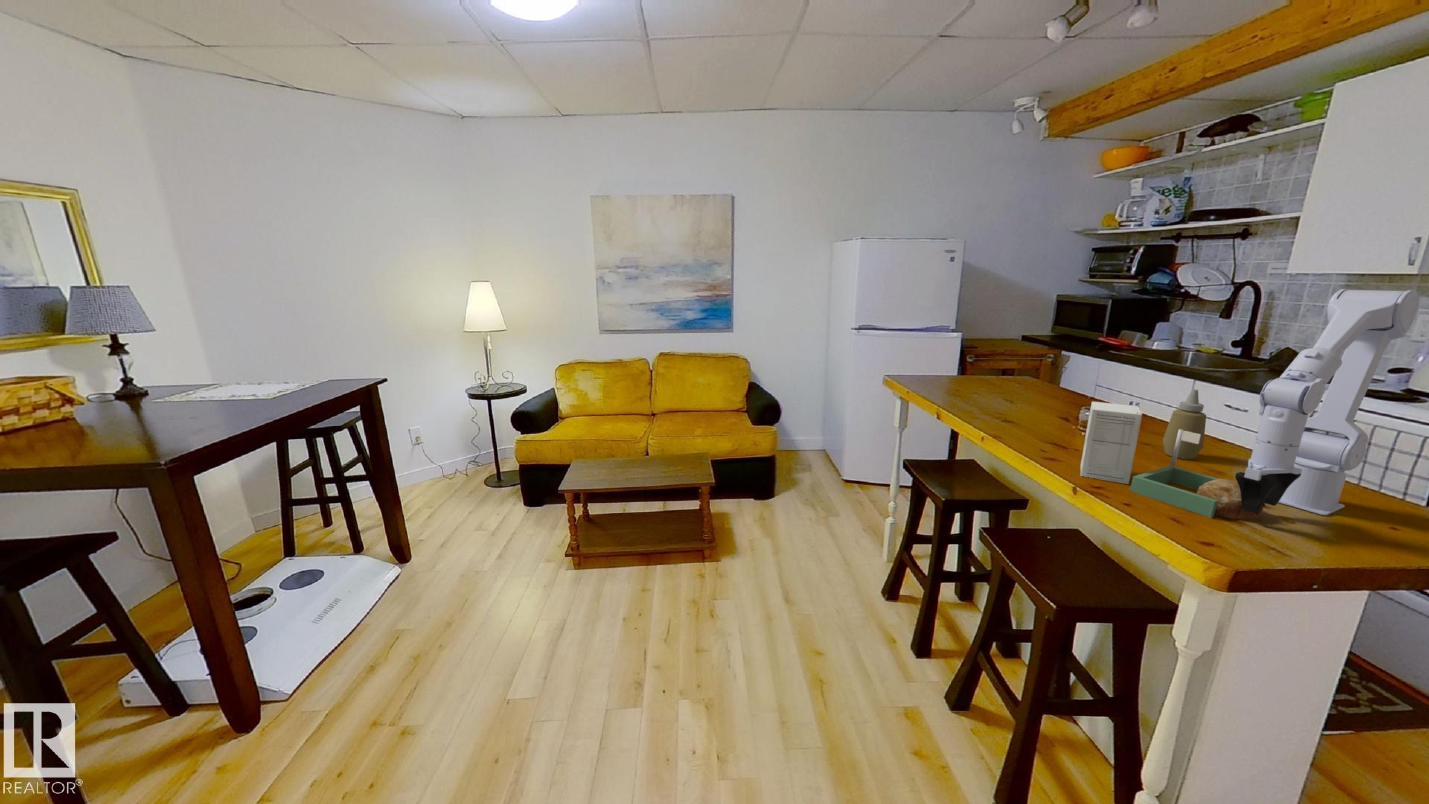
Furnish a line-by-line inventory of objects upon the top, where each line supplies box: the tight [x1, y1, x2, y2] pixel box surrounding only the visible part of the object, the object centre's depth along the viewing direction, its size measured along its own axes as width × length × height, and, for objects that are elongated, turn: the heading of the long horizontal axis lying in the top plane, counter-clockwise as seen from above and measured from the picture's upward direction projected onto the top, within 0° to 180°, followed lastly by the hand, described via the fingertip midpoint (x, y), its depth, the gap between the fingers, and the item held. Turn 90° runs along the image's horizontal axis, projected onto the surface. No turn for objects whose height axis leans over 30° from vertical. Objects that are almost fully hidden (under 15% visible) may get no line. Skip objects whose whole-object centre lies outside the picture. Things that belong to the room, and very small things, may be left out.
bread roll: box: [1195, 478, 1266, 521], centre depth 106 cm, size 10×10×8 cm
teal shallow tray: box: [1129, 429, 1219, 519], centre depth 110 cm, size 15×14×12 cm
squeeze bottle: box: [1162, 388, 1207, 460], centre depth 134 cm, size 8×8×18 cm
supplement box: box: [1079, 401, 1143, 485], centre depth 122 cm, size 10×9×17 cm
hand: (1259, 507), depth 102 cm, fingers open, 7 cm apart
